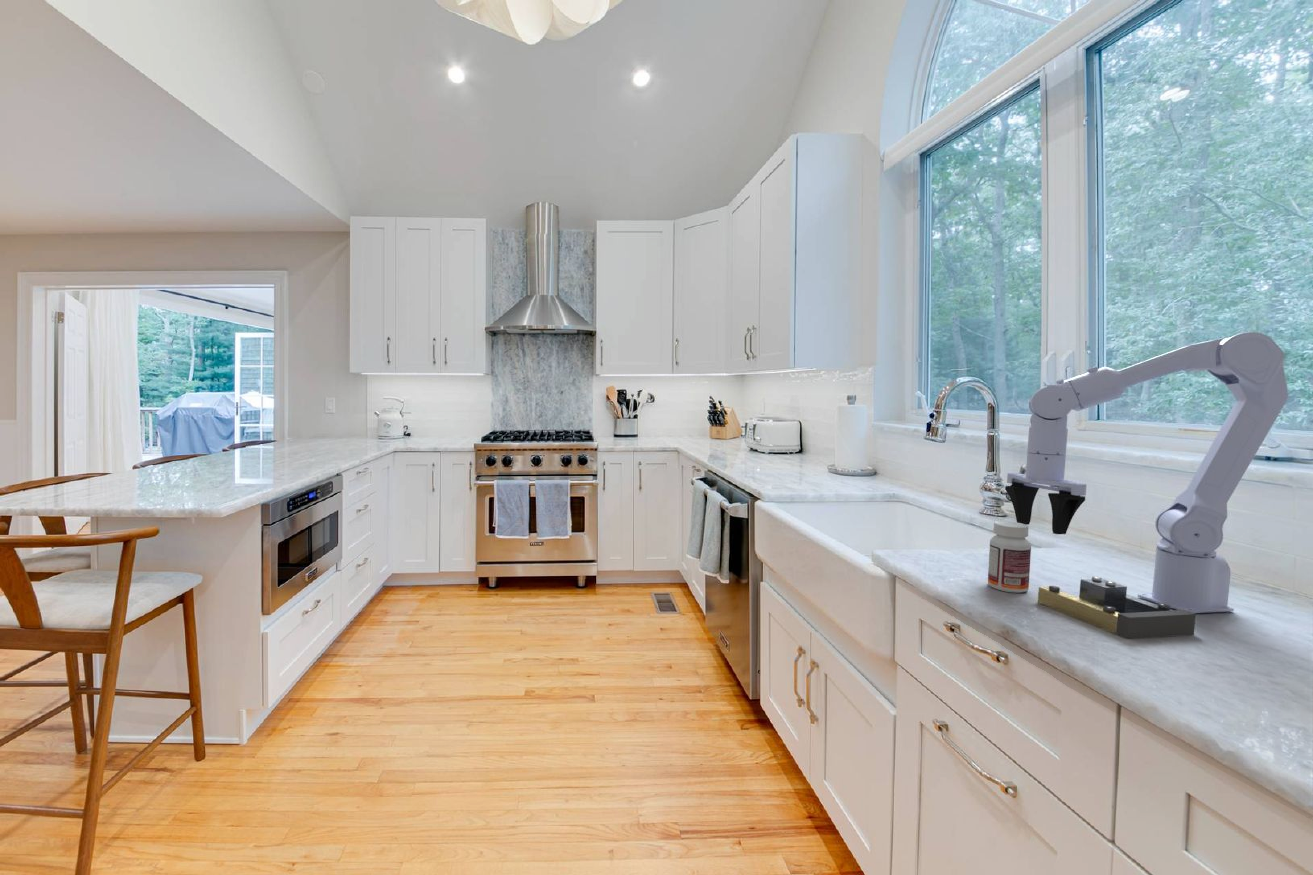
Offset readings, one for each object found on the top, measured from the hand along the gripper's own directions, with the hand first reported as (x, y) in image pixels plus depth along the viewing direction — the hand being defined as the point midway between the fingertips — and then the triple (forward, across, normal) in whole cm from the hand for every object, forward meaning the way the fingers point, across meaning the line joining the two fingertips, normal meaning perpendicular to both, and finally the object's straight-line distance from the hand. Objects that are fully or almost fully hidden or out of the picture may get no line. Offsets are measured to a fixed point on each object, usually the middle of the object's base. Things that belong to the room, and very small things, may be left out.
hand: (1040, 528), depth 103 cm
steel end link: (+10, +16, +2) cm, 18 cm away
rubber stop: (+10, +23, -3) cm, 25 cm away
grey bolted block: (+10, +15, -3) cm, 18 cm away
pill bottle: (+10, +2, -8) cm, 13 cm away
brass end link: (+10, +16, -8) cm, 20 cm away
